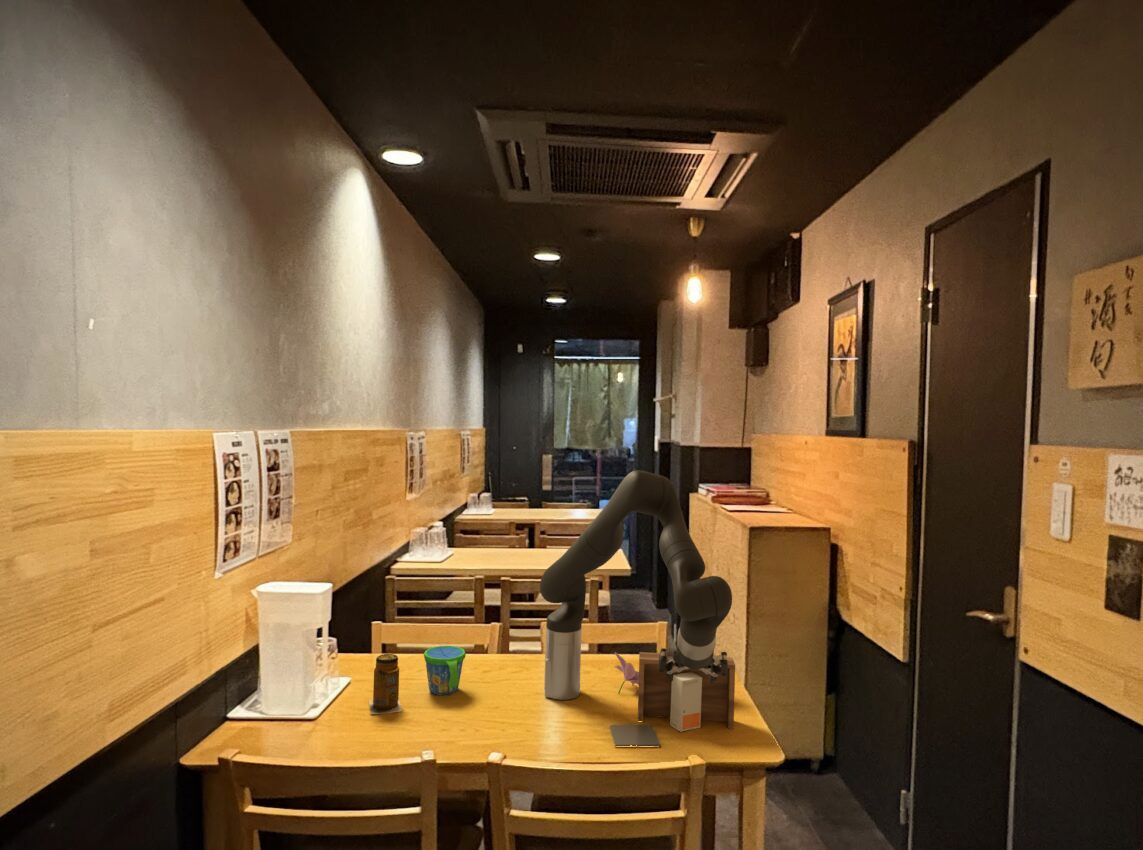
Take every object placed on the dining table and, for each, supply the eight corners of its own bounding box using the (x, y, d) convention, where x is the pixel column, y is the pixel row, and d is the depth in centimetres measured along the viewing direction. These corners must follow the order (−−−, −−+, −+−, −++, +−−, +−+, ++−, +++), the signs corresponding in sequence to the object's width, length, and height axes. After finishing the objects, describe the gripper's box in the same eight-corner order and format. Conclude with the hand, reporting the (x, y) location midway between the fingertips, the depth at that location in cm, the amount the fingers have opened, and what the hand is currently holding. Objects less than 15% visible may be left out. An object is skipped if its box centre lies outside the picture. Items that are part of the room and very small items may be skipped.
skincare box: (680, 733, 155) (681, 681, 155) (669, 725, 159) (670, 674, 159) (701, 728, 158) (702, 677, 158) (690, 721, 162) (691, 671, 162)
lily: (650, 706, 172) (661, 669, 176) (608, 689, 171) (621, 652, 174) (635, 703, 183) (646, 668, 187) (596, 687, 182) (608, 652, 186)
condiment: (398, 698, 171) (399, 651, 171) (402, 711, 163) (403, 662, 163) (368, 701, 168) (370, 653, 168) (371, 715, 160) (372, 665, 160)
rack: (733, 728, 158) (735, 664, 158) (637, 721, 160) (639, 658, 160) (730, 719, 163) (732, 657, 163) (637, 713, 165) (639, 652, 165)
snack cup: (471, 699, 171) (472, 659, 171) (429, 705, 167) (430, 663, 167) (456, 677, 186) (457, 640, 186) (418, 682, 181) (419, 644, 181)
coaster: (615, 747, 147) (615, 744, 147) (609, 727, 157) (609, 724, 157) (660, 747, 148) (660, 744, 148) (651, 726, 158) (651, 724, 158)
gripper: (730, 626, 137) (722, 663, 149) (660, 622, 139) (657, 659, 150) (733, 661, 132) (725, 697, 144) (660, 657, 134) (657, 692, 145)
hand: (690, 678), depth 147 cm, fingers open, 8 cm apart
